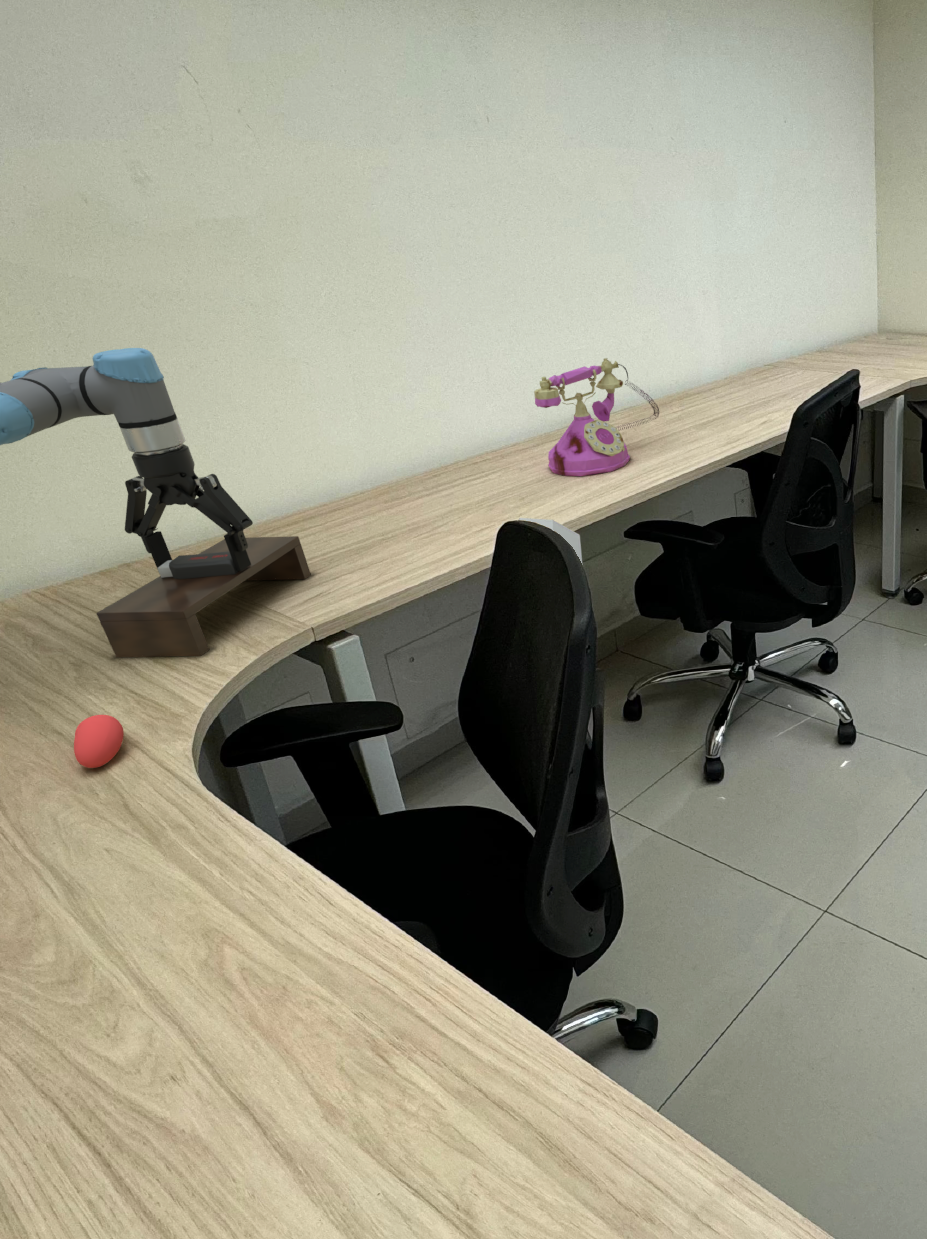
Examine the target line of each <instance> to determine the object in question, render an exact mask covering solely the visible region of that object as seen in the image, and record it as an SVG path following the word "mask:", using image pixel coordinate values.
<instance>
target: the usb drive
mask: <svg viewBox="0 0 927 1239" xmlns="http://www.w3.org/2000/svg"><path fill="white" fill-rule="evenodd" d="M158 571H159V572H158ZM157 572H158V573H159V577H160V576H161V578H162V577H173V578H174V579H190V578H201V577H212V576H223V575H233V574H236V573H237V572H238V571H236V568H235V565H234V563H233V560H232V557H231V555H230V552H229V551H228V552H217V553H206V554H199V553H194V554H182V555H181V554H180V555H178V556H176V557H174V558H173V559H172V560H168V561H166V562H165V563H164V564H162V565H161V566H160V567H158V569H157Z"/></svg>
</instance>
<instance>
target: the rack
mask: <svg viewBox="0 0 927 1239" xmlns="http://www.w3.org/2000/svg"><path fill="white" fill-rule="evenodd" d="M245 538H246V541H247V544H248V548H247V549H246V551H247V554H248V557H249V559H250V562H251V565H250V566H248V567H247V568H245V569H244V570H242V571H238V572H237V573H236V574H233V575H223V576H212V577H201V578H190V579H174V578H173V577H162V578H161V576H160V575H159V576H158V577H156V578H154V579H152V580H151V581H149V582H147V583H146V584H144V585H143V586H141V587H139V588H137V589H135V590H134V591H132V592H130V593H128V594H127V595H125V596H123V597H121V598H120V599H118V600H117V601H115V602H113V603H111V604H109V605H108V606H106V607H105V608H103V609H101V610H99V611H97V612H96V616H97V618H98V620H99V623H100V625H101V628H102V629H103V631H104V634H105V635H106V638H107V640H108V642H109V644H110V645H109V646H110V647H111V649H112V651H113V653H114V656H115V658H151V657H152V658H158V657H201V656H203V655H204V654H206V653H207V652H208V651H210V647H209V644H208V642H207V640H206V636H205V635H204V631H203V629H202V627H201V624H200V622H199V619H198V616H197V615H196V614H197V613H199V612H200V611H202V610H203V609H204V608H206V607H208V606H209V605H211V604H212V603H214V602H215V601H217V600H218V599H219V598H221V597H222V596H224V595H225V594H227V593H228V592H230V591H232V590H233V589H235V588H236V587H237V586H239V585H241V584H242V583H243V582H246V581H282V580H283V581H285V580H306V579H307V578H309V577H310V576H311V570H310V568H309V564H308V561H307V558H306V555H305V552H304V549H303V546H302V542H301V539H300V537H299V536H298V535H296V536H295V535H294V536H293V535H292V536H291V535H290V536H257V537H256V536H253V537H252V536H251V537H245ZM228 551H229V549H228V546H227V544H226V541H225V538H224V539H222V540H220V541H218V542H217V543H215V544H213V545H212V546H210V547H208V548H206V549H205V550H203V551H201V552H199V553H198V554H206V553H217V552H228Z"/></svg>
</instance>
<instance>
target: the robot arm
mask: <svg viewBox="0 0 927 1239" xmlns="http://www.w3.org/2000/svg"><path fill="white" fill-rule="evenodd" d="M92 363H93V365H87V366H68V367H66V366H65V367H64V366H63V367H38V368H33V369H26V370H25V369H24V370H20V371H18V372H15V373H14V374H13V375H12V377H11V379H10V380H6V381H3V382H0V446H3V445H8V444H9V445H10V444H13V443H16V442H19V441H22V440H23V439H25V438H27V437H30V436H32V435H34V434H37V433H39V432H42V431H44V430H46V429H50V428H53V427H56V426H58V425H61V424H63V423H66V422H69V421H71V420H73V419H77V418H84V417H85V418H86V417H97V416H111V415H114V417H115V420H116V422H117V425H118V426H119V429H120V432H121V434H122V437H123V440H124V442H125V445H126V448H127V450H128V451H129V452H131V453H132V456H131V459H132V460H131V461H132V463H133V464H134V468H135V470H136V472H137V475H136V476H134V477H131V478H130V479H127V480H125V482H124V484H125V488H126V492H127V500H126V510H125V520H124V521H125V522H124V531H125V533H127V534H130V535H131V534H135V535H137V536H138V537H140V538H141V541H142V543H143V546H144V547H145V550H146V552H147V553H148V554H150V555H151V558H152V559H153V562H154V564H155V567H156V569H157V572H158V573H159V571H158V567H160V566H161V565H162V564H164V563H165V562H166V561H168V560H173V558H172V556H171V552H170V551H169V548H168V546H167V543H166V540H165V538H164V535H163V533H162V531H161V530H159V531H157V530H158V529H159V527H158V524H159V522H160V520H161V518H162V515H163V514H164V511H165V509H166V507H167V506H173V505H179V506H185V505H188V507H190V508H193V509H196V510H197V511H199V512H200V513H202V514H203V515H204V516H205V517H206V518H208V519H209V520H210V521H211V522H213V523H214V524H215V525H217V526H218V527H219V528H221V529H222V530H223V531H225V532H226V534H224V535H223V538H224V539H225V541H226V544H227V546H228V549H229V552H230V555H231V557H232V560H233V563H234V565H235V568H236V571H242V570H244V569H245V568H247V567H248V566H250V565H251V562H250V559H249V557H248V554H247V551H246V549H247V548H248V544H247V541H246V538H247V537H246V535H245V532H244V531H245V530H246V529H247V528H249V527H251V526H253V524H254V523H253V520H252V519H251V518H250V517H249V515H247V513H246V512H245V511H244V510H243V509H242V508H241V507H240V505H239V504H238V503H237V502H236V501H235V500H234V499H233V497H232V496H231V495H230V494H229V493H228V492H227V491H226V490H225V488H223V486H222V484H221V482H220V480H219V478H218V476H217V475H216V474H215V473H210V474H208V475H206V476H200V477H199V476H198V475H197V474H196V473H195V466H196V464H195V460H194V458H193V455H192V453H191V450H190V448H189V446H188V445H186V444H185V442H186V436H185V434H184V432H183V429H182V427H181V424H180V421H179V419H178V417H177V414H176V411H175V409H174V405H173V403H172V400H171V397H170V395H169V390H168V389H167V386H166V383H165V378H164V375H163V373H162V372H161V369H160V367H159V365H158V363H157V361H156V358H155V356H154V354H153V353H152V352H151V351H150V350H148V349H146V348H142V347H127V348H120V349H119V348H117V349H110V350H104V351H99V352H96V353H95V354H93V356H92ZM147 492H150V494H151V495H150V498H149V500H148V502H147ZM146 502H147V503H146ZM146 504H147V505H148V506H147V508H146Z"/></svg>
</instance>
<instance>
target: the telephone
mask: <svg viewBox="0 0 927 1239" xmlns="http://www.w3.org/2000/svg"><path fill="white" fill-rule="evenodd" d="M619 367H622V368H623V369H624V370H625V372H626V377H627V379H626V380H625V382H624V381H623V380H622V379H618V377H617V376H615V375H614V374H613V370H614V369H618V368H619ZM602 373H603V374H604V375H603V376H602V377H601V379H600V380H599V381H598V382H597V384H596V380H597V376H599V375H600V374H602ZM540 379H541V380H540V381H539V386H540V388H536V389H535V390H534V391H533V393H534V404H535V406H536V407H537V408H544V409H548V408H551V407H559V406H560V404H564V405H574V406H575V411H574V414H573V420H572V422H571V423H570V424H569V426H568V427H567V428H566V430H565V431H564V432H563V434H562V435H561V436H560V438H559V440H558V441H557V442H556V443H555V445H554V446H553V447H552V448H550V450H549V451H548V456H547V460H548V467H549V469H550V471H551V472H552V473H553V474H556V475H559V476H566V477H585V476H586V477H587V476H591V475H592V476H593V475H598V474H606V473H611V472H614V471H616V470H619V469H620V468H623V467H625V466H626V465H627V463H628V462H629V461H630V459H631V457H630V454H629V453H628V447H627V444H626V443H625V441H624V438H623V435H622V433H621V432H620V431H622V430H628V429H631V428H632V429H633V428H634V427H639V425H641V426H642V425H646V424H648V421H647V420H649V423H650V422H653V421H655V420H657V419H658V418H659V416H660V408H659V406H658V404H657V403H656V402H655V400H654V399H653V398H652V397H650V395H649V394H648V393H647V392H645V391H644V390H643V389H639V387H638V386H637V385H635V384H634V383H633V382H631V381H629V373H628V369H627V368H626V367H625V366H624V365H622V364H620V363H619V362H618V361H617V360H615V361H614V362H613V363H612V361H611V360H609V359H608V358H607V357H605V358H603V361H602V362H601V365H590V367H587V366H581V367H579V368H575V369H572V370H569V371H565V372H562V373H561V374H560V375H556V374H554V375H553V376H550V377H549V378H547V376H541V378H540ZM584 380H588V382H589V385H590V387H591V391H589V392H586V393H581V392H576V393H575V395H574V396H573V397H569V398H566V396H565V394H566V391H565V389H566V386H568V385H571V384H574V383H577V382H581V381H584ZM561 385H562V386H561ZM624 385H625V386H626V387H629V388H632V390H633V391H634V392H636V393H637V394H638V395H640V396H641V397H642V398H643V399H644V400H647V402H648V404H649V405H650V406H651V408H652V410H653V414H651V415H650V417H645V418H641V419H639V420H635V421H632V422H627V424H626V423H623V427H622V424H621V425H617V427H616V426H614V425H613V424H611V423H609V421H610V417H611V412H612V410H613V408H614V407H615V391H616V389H619V388H622V387H623V386H624ZM595 388H597V389H600V390H605V391H606V393H607V394H606V397H605V398H604V399H603V400H602V401H600V400H596V401H594V402H592V405H591V409H592V411H593V414H594V416H595V417H596V418H597V419H594V418H593V417H592V415H591V413H589V411H588V408H587V406H586V404H585V402H586V401H587V400H589V399H590V398H592V397H594V396H595V394H596V393H597V392H595ZM589 395H590V396H589ZM587 396H589V397H587ZM584 397H586V398H585V400H584V402H583V399H584ZM562 400H563V401H564V402H562ZM573 400H576V404H575V403H574V402H570V403H565V402H568V401H573ZM632 424H633V425H632Z"/></svg>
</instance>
